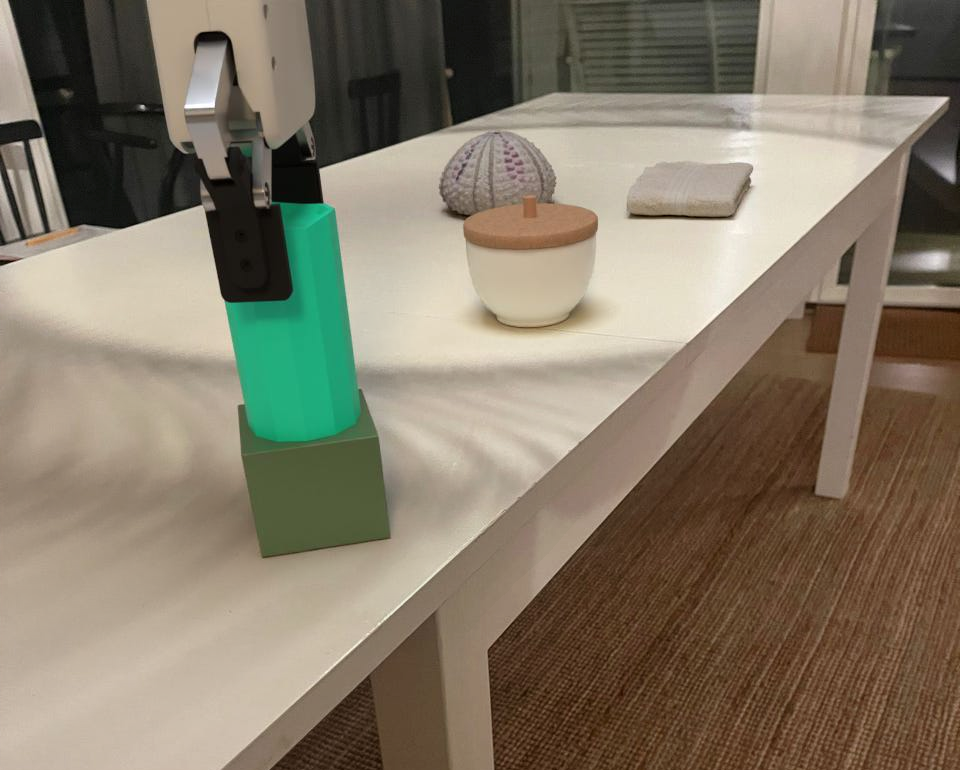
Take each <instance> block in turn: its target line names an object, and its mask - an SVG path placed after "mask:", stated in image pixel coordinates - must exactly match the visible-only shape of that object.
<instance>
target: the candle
mask: <svg viewBox="0 0 960 770" xmlns="http://www.w3.org/2000/svg"><path fill="white" fill-rule="evenodd" d="M271 204H280V207H281V213H282V220H283V226H284V233H285V239H286V246H287V252H288V259H289V265H290V272H291V278H292V285H293V292H292V294H291V296H290V297H289V299H287V300H284V301H263V302H239V303H229V302H226V301H225V300H224V299H223V302H224V306H225V307H224V308H225V311H226V317H227V321H228V326H229V332H230V336H231V341H232V342H231V344H232V346H233V347H232V348H233V353H234V359H235V364H236V368H237V373H238V377H239V383H240V388H241V393H242V399H243V404H245V409H246V414H247V420H248V425H249V427H250V428H251V430H252V431H253V432H254V434H255V435H256V436H258V437H262V438H265V439H269V440H273V441H277V442H296V441H311V440H315V439H320V438H324V437H328V436H333V435H336V434H338V433H340V432H342V431H344V430H346V429H347V428H349V427H351V426H353V425H355V424H356V422H357V420H358V418H359V416H360V414H361V408H360V400H359V392H358V389H359V385H358V384H359V383H358V379H357V369H356V363H355V361H356V360H355V354H354V347H353V338H352V330H351V322H350V315H349V314H350V313H349V307H348V300H347V292H346V291H347V290H346V284H345V275H344V268H343V267H344V266H343V261H342V252H341V251H342V250H341V243H340V237H339V228H338V220H337V214H336V213H337V212H336V208H335V207H334V206H331V205H330V204H327V203H324V204H296V203H282V202H272V200H271Z"/></svg>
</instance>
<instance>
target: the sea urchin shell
mask: <svg viewBox="0 0 960 770" xmlns="http://www.w3.org/2000/svg"><path fill="white" fill-rule="evenodd" d="M438 180H439V184H438V187H437V188H438V189H439V195H440V196H441V198H442V202H444V203H445V205H447V207H448V208H450V209H451V211H452V212H457V213H458V215H465V216H468V217H470V216H472V215H474V214H476V213H478V212H482V211H485V210H488V209H492V208H497V207H503V206H510V205H519V204H523V197H524V196H528V195H534V196H536V204H537V203H548V202H550V200H552V199H553V195H554V194H555V188H556V187H557V182H556V180H557V176H556V173H555V170H554V169H553V165H552V164H551V163H550V162H549V160H548V159H547V157H546V156H545V155H544V154H543V153H542V151H541V149H540V148H538V147H537V146H536V145H535V143H534V141H530V140H528V139H527V137H524V136H521V135H519V134H518V133H515V132H512V131H507V130H506V131H504V130H494V131H487V132H484V133H483V134H478V135H477V136H475V137H473V138H472V137H471V139H469V140H468V141H466V142H464V143H463V145H461V146H460V147H459V148H458V149H457V150H456V151H455V153H454V154H453V155H452V156H451V158H450V159H448V162H447V163H446V165H445V166H444V169H443V171H442V172H441V176H440V178H438Z"/></svg>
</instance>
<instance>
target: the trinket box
mask: <svg viewBox="0 0 960 770" xmlns="http://www.w3.org/2000/svg"><path fill="white" fill-rule="evenodd" d="M598 229H599V217H598V215H597V214H596V212H594V211H592V210H591V209H587V208H585V207H582V206H578V205H572V204H564V203H548V202H547V203H537V204H536V196H534V195H528V196H524V197H523V204H519V205H510V206H503V207H497V208H492V209H488V210H485V211H482V212H478V213H476V214H474V215H470V216H468V217H466V219H465V220H464V222H463V225H462V230H463V237H464V239H465V250H466V251H465V252H466V263H467V267H468V273H469V276H470V279H471V283H472V286H473V288H474V290H475V293H476V295H477V296H478V298H479V300H480V301H481V302H482V303H483V305H484V306H485V307H486V308H487V309H488V310H489V311H490V312H491V313H493V314H494V315H495V316H496V317H495V319H496V320H497V322H499V323H501V324H503V325H505V326H510V327H516V328H540V327H548V326H553V325H556V324H559V323H561V322H564V321H565V320H567V319H568V318H569V317H570V312H572V310H573V309H574V308H576V306H577V305H579V303H580V302H581V300H582V299H583V298H584V296H585V295H586V293H587V291H588V289H589V286H590V284H591V281H592V279H593V274H594V270H595V263H596V254H597V232H598Z"/></svg>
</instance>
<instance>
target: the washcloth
mask: <svg viewBox="0 0 960 770" xmlns="http://www.w3.org/2000/svg"><path fill="white" fill-rule="evenodd" d="M753 171H754V165H753V164H751V163H749V162H743V161H742V162H739V161H738V162H725V163H724V162H723V163H703V162H697V161H689V160H683V161H675V162H666V161H662V162H657V163H656V164H655V165H654V166H648V167H647V166H646V167H645V168H644V169H643V172H642V174H641V175H640V176H638V177H637V178H636V179H635V182H634V183H633V184H632V185H631V186H630V187H629V189H628V194H627V196H626V197H627V198H626V212H627V213H631V215H643V216H663V215H665V216H669V215H670V216H688V217H699V218H700V217H702V218H704V217H711V218H712V217H713V218H716V217H721V218H722V217H725V218H726V217H730V216H732V215H734V213H735V212H736V209H738V205H739V204H740V202H741V201H742V199H743V196H744V195H745V193H746V191H747V190H748V188H749V187H750V185H751V184H752V178H751V177H750V176H751V175H752V173H753Z"/></svg>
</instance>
